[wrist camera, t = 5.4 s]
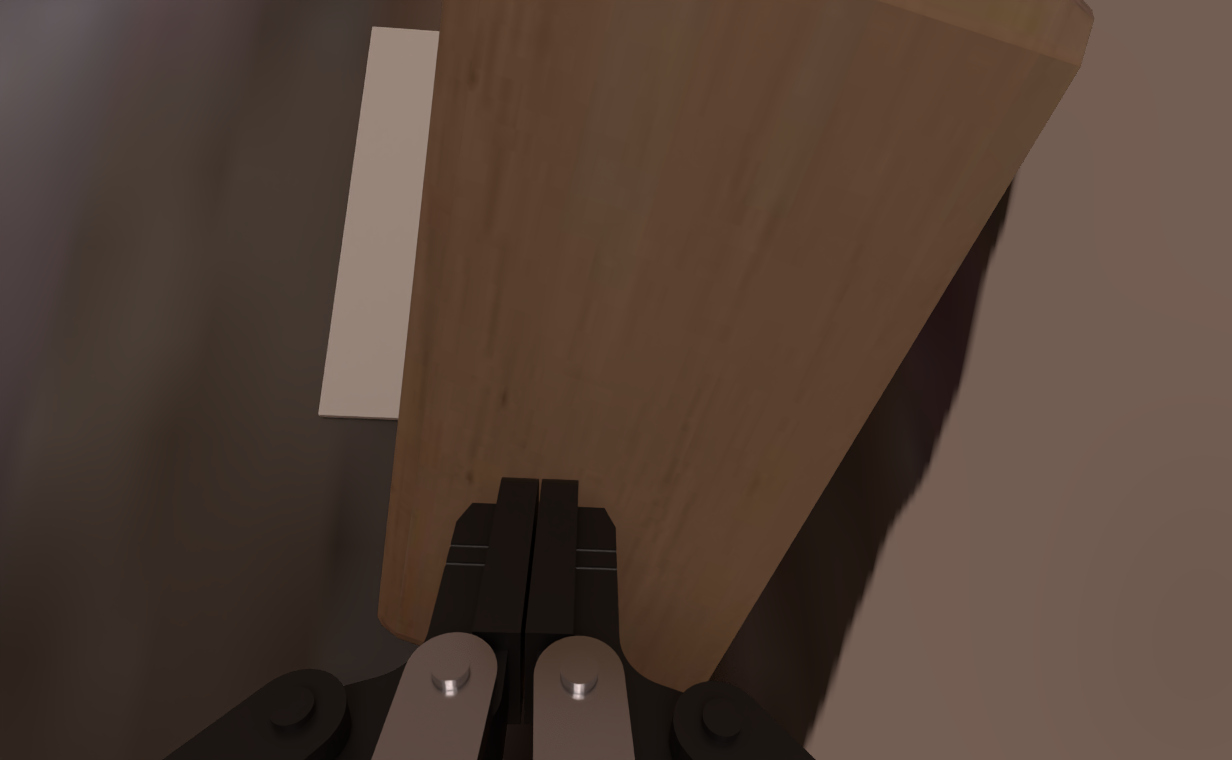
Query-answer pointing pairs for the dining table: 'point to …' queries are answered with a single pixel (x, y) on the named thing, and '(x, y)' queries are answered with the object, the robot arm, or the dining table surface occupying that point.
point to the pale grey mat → (381, 229)
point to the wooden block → (690, 269)
